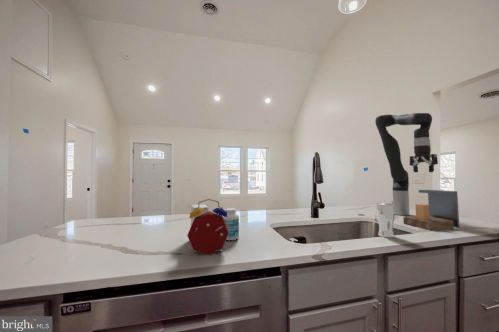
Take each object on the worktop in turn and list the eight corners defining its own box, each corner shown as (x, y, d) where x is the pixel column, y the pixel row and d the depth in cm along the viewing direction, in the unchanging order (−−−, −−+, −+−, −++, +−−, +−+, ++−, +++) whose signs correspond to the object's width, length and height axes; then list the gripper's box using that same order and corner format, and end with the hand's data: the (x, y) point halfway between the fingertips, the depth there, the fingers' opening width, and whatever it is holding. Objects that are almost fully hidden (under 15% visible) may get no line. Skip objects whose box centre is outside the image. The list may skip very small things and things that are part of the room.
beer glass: (375, 236, 93) (374, 203, 94) (378, 232, 98) (377, 202, 99) (394, 239, 88) (392, 205, 89) (396, 235, 93) (394, 203, 94)
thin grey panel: (420, 222, 118) (418, 189, 119) (430, 221, 120) (429, 189, 121) (447, 228, 105) (445, 191, 106) (459, 227, 106) (457, 191, 107)
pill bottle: (224, 242, 86) (224, 210, 86) (220, 237, 93) (220, 208, 93) (241, 240, 88) (241, 209, 89) (236, 235, 95) (236, 207, 96)
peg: (416, 225, 112) (415, 204, 112) (422, 225, 113) (421, 203, 113) (424, 227, 108) (423, 205, 108) (429, 226, 109) (428, 204, 109)
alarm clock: (227, 247, 79) (227, 197, 80) (228, 256, 71) (228, 200, 72) (189, 250, 77) (190, 198, 78) (185, 259, 68) (186, 201, 69)
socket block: (403, 223, 116) (403, 216, 116) (425, 222, 119) (425, 215, 119) (429, 230, 102) (429, 222, 102) (453, 228, 105) (453, 220, 106)
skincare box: (190, 239, 90) (190, 204, 91) (204, 237, 93) (205, 204, 94) (192, 245, 82) (193, 207, 83) (208, 243, 85) (208, 206, 86)
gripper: (405, 147, 127) (406, 172, 126) (429, 143, 113) (431, 172, 112) (415, 147, 128) (416, 172, 127) (440, 143, 114) (441, 172, 113)
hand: (423, 172), depth 120 cm, fingers open, 8 cm apart
